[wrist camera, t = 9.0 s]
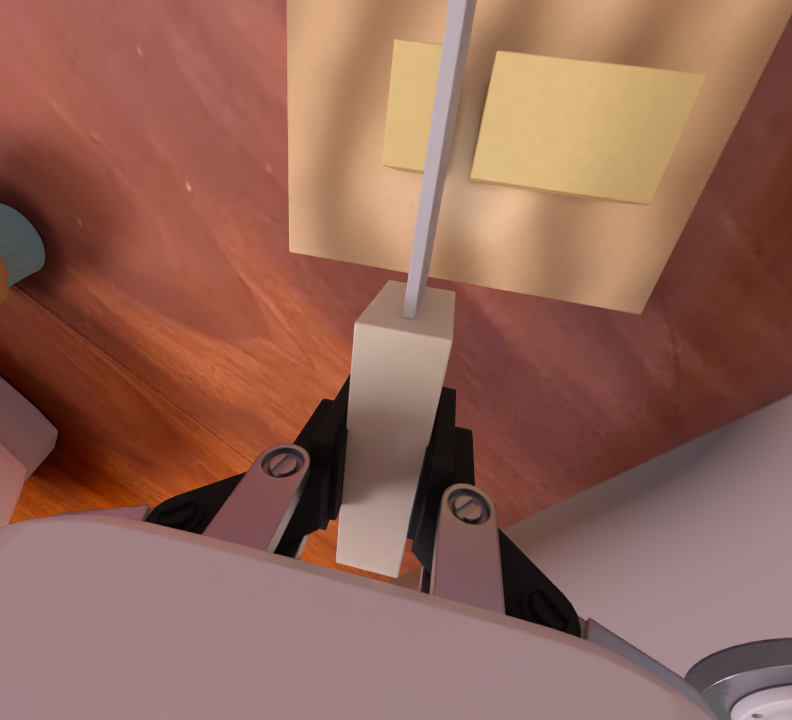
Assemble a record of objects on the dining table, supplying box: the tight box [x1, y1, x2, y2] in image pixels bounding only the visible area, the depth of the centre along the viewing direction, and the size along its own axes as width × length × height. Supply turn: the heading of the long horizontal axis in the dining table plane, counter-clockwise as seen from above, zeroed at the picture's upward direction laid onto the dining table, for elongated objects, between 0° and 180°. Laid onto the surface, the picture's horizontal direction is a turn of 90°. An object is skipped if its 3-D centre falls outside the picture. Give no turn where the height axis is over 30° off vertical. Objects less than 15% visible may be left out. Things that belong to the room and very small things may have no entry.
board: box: [287, 0, 792, 314], centre depth 16 cm, size 20×14×2 cm
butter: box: [469, 51, 707, 205], centre depth 14 cm, size 7×4×4 cm, turn 82°
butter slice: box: [382, 39, 443, 174], centre depth 14 cm, size 2×4×4 cm, turn 171°
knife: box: [336, 0, 477, 578], centre depth 9 cm, size 19×2×4 cm, turn 172°
